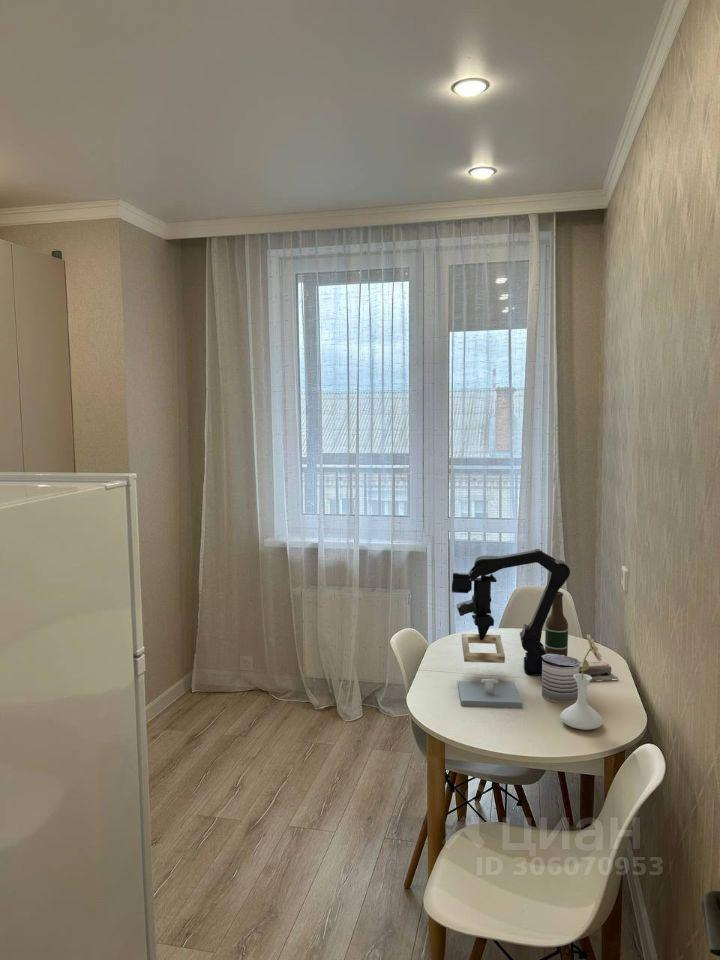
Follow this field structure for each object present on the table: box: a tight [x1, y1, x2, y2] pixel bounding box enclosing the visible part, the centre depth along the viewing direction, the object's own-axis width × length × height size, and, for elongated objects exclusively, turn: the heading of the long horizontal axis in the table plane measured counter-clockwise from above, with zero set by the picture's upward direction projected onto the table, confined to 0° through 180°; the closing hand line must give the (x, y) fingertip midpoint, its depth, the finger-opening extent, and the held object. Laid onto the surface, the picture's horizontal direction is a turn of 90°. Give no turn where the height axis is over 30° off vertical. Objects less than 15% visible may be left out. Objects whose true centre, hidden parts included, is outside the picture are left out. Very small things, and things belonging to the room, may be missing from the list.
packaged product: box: [579, 661, 619, 682], centre depth 232 cm, size 18×5×10 cm
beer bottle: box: [544, 591, 569, 656], centre depth 248 cm, size 8×8×24 cm
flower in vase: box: [559, 634, 604, 731], centre depth 194 cm, size 13×11×25 cm
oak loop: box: [461, 633, 506, 664], centre depth 232 cm, size 13×13×2 cm
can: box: [541, 654, 581, 704], centre depth 214 cm, size 11×11×12 cm
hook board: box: [456, 678, 523, 708], centre depth 214 cm, size 18×16×6 cm
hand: (481, 638), depth 237 cm, fingers closed on oak loop, 2 cm apart
